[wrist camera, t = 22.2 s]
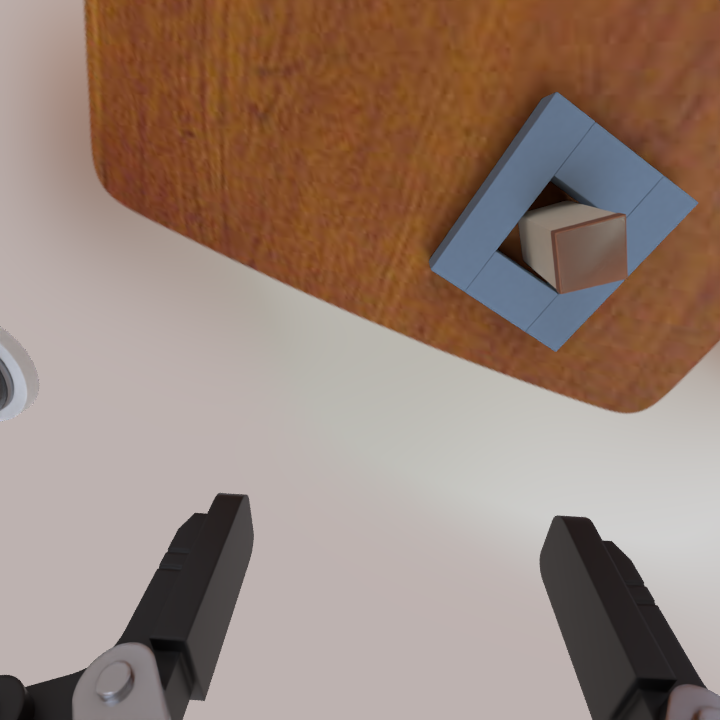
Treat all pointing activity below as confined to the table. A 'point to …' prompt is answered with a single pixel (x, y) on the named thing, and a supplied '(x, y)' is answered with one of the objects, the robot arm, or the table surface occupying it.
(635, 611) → the robot arm
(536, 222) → the brown square block
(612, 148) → the blue square frame
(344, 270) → the table surface
